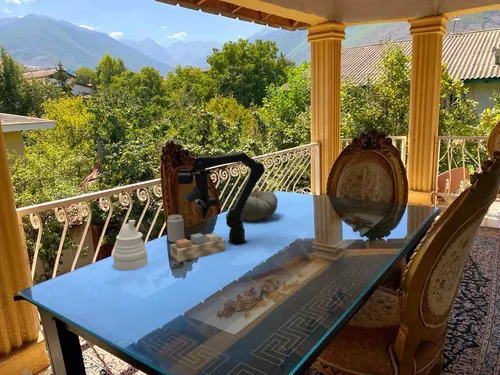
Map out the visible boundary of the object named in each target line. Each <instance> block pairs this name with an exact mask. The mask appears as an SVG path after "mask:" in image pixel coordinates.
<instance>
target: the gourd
mask: <svg viewBox="0 0 500 375" xmlns="http://www.w3.org/2000/svg"><path fill="white" fill-rule="evenodd" d="M238 198H239V196H238V197H236V199H235V200H234V204H233V207H234V206H235V205H236V203H237V201H238ZM278 201H279V200H278V198H277V196H276V194H275V193H274V192H273V191H270V190H267V191H264V190H262V191H260V190H258V188H254V189H253V190H252V192H251V194H250V196H249V198H248V200H247V202H246V204H245V206H244V208H243V210H242V214H241V218H240V219H242V220H247V221H248V222H249V221H250V222H259V221H261V220H266V219H267V218H270V217H271V216H272V215H273V214H274V213H275V212H276V211H277V208H278Z"/></svg>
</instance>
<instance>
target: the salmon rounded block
mask: <svg viewBox="0 0 500 375" xmlns="http://www.w3.org/2000/svg"><path fill="white" fill-rule="evenodd" d="M175 244H176V247H178V248H179V249H181V248H185V247H190V240H188V239H187V238H184V239H182V240H177V241H176V243H175Z"/></svg>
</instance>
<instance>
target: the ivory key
mask: <svg viewBox="0 0 500 375" xmlns="http://www.w3.org/2000/svg"><path fill="white" fill-rule="evenodd" d="M204 236H205V240H207V241H208V242H212V241H216V240H219V237H220V235H219V234H217V233H215V232H211V233H206V234H204Z"/></svg>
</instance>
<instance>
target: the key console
mask: <svg viewBox="0 0 500 375" xmlns="http://www.w3.org/2000/svg"><path fill="white" fill-rule="evenodd" d="M225 240H226V239H224V238H223V237H220V236H219V240H216V241H212V242H208V241H207V240H205V243H203V244H199V245H194V244H192V243H191V239H190V240H189V241H190V247H185V248H181V249H179V248H178V247H176V243H172V244H170V245H169V246H170V257H172V258H173V259H174V260H176V262H178V263H181V262H184V261H188V260H192V259H193V260H194V259H196V258H201V257H204V256H205V257H206V256H209V255H213V254H217V253H221V252H224V251H226V241H225Z"/></svg>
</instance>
